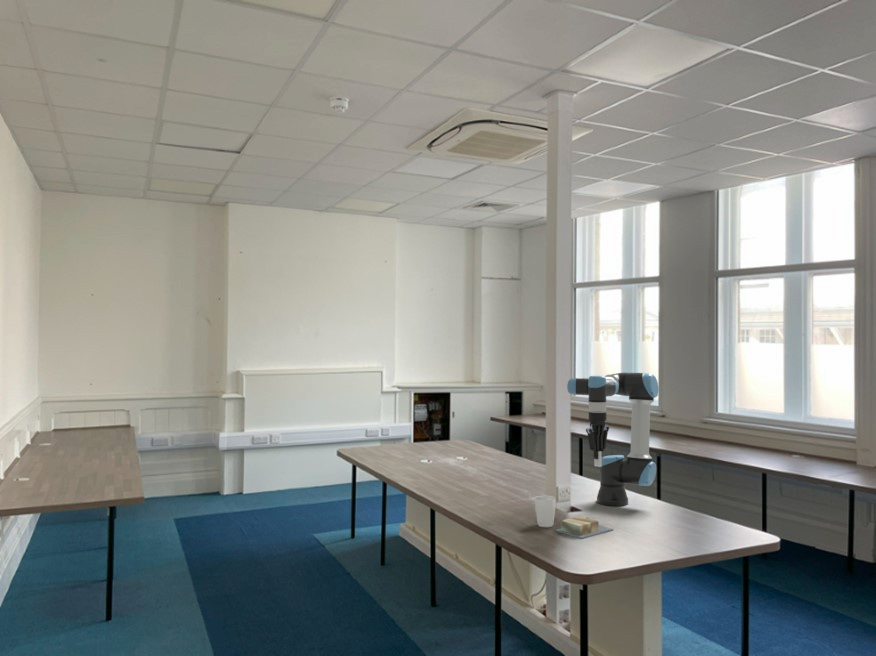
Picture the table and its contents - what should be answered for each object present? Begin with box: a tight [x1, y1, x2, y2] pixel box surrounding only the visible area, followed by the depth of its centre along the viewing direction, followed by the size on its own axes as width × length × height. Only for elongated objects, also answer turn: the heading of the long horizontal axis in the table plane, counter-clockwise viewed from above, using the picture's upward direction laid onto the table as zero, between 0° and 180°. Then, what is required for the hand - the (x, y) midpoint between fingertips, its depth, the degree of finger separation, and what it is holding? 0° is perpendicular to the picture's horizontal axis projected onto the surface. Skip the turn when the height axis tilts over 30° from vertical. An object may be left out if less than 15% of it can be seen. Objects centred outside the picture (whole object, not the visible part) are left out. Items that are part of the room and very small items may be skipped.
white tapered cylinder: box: [534, 494, 557, 528], centre depth 288 cm, size 9×9×12 cm
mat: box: [555, 524, 614, 540], centre depth 279 cm, size 20×14×1 cm
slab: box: [560, 516, 600, 536], centre depth 278 cm, size 4×10×12 cm
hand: (598, 466), depth 285 cm, fingers closed
